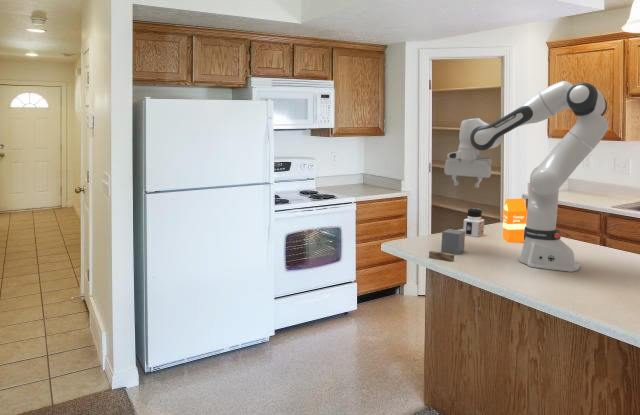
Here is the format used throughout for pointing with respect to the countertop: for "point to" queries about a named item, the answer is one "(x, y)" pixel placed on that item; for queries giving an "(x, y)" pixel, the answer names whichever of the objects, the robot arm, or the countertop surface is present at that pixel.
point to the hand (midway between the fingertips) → (466, 186)
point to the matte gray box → (453, 241)
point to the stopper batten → (441, 255)
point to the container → (474, 223)
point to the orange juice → (514, 220)
